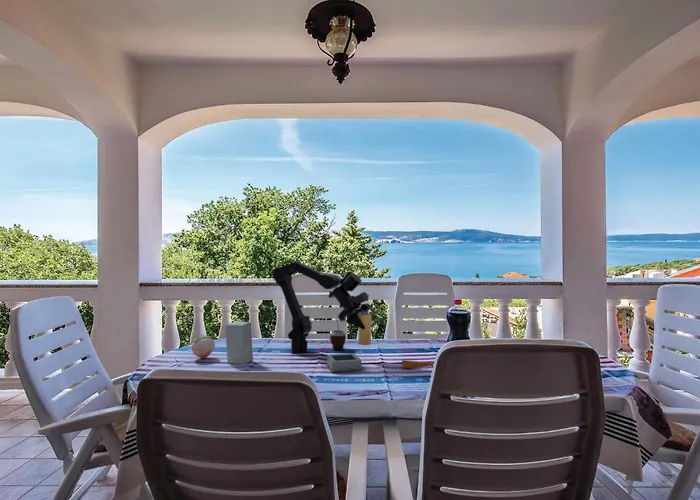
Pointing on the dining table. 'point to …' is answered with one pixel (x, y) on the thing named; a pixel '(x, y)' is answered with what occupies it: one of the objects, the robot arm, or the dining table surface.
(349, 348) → the dining table surface
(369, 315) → the tan cylinder
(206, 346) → the decorative fruit
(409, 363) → the kendama
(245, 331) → the skincare box
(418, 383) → the dining table surface
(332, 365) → the gray square dish
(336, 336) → the mate gourd
